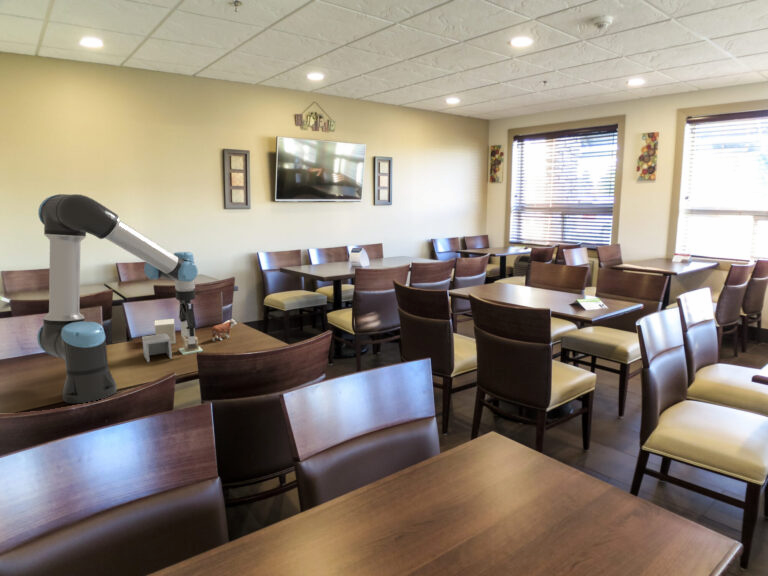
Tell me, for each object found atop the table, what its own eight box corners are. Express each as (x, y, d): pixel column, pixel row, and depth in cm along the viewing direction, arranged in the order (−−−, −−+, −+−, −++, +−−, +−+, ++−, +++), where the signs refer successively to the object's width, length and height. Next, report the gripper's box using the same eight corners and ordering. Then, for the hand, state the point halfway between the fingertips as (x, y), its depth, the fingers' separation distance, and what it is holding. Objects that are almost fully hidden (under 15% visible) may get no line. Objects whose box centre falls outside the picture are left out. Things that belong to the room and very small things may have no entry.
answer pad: (203, 351, 207) (203, 350, 207) (182, 354, 202) (182, 353, 202) (198, 346, 213) (198, 345, 213) (178, 350, 209) (178, 348, 209)
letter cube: (198, 349, 207) (197, 337, 206) (186, 351, 204) (185, 339, 203) (196, 346, 211) (195, 335, 210) (183, 348, 209) (182, 336, 208)
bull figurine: (239, 335, 230) (238, 318, 229) (215, 342, 219) (214, 325, 218) (232, 334, 233) (231, 317, 231) (209, 341, 222) (207, 323, 220)
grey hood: (172, 358, 198) (170, 339, 197) (147, 362, 194) (145, 342, 192) (167, 351, 207) (165, 333, 205) (143, 355, 202) (142, 336, 200)
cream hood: (156, 345, 216) (176, 343, 219) (154, 325, 214) (174, 323, 217) (156, 339, 225) (175, 337, 228) (154, 320, 223) (173, 318, 226)
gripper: (202, 293, 195) (204, 345, 198) (188, 285, 215) (191, 332, 219) (182, 295, 191) (185, 348, 194) (170, 286, 211) (172, 334, 215)
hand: (188, 340), depth 206 cm, fingers open, 13 cm apart
